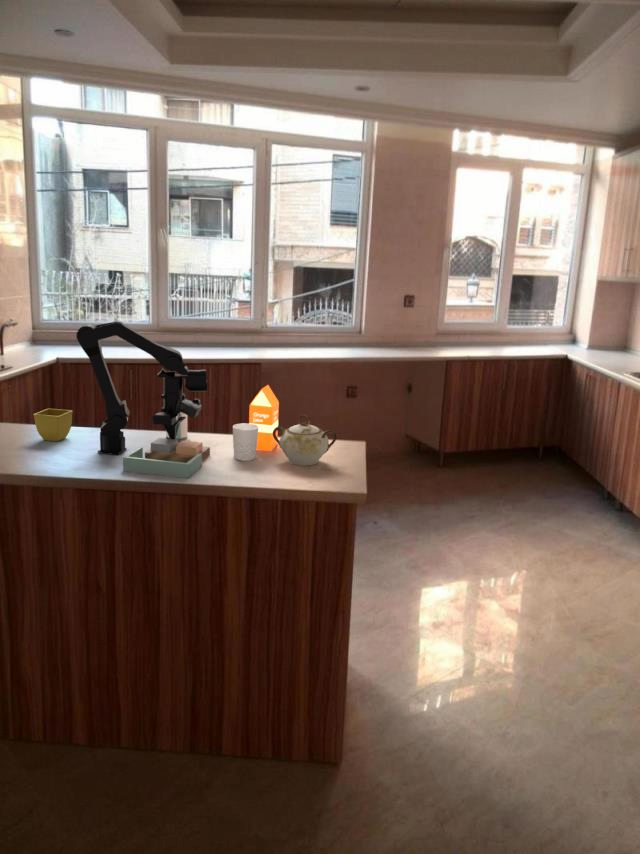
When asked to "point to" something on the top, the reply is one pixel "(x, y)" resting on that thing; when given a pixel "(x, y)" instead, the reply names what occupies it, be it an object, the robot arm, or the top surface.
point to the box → (160, 465)
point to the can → (181, 429)
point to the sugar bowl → (304, 442)
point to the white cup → (245, 441)
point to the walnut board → (175, 455)
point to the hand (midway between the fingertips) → (173, 440)
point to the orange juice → (265, 418)
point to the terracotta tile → (189, 448)
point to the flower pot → (53, 423)
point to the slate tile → (164, 445)
